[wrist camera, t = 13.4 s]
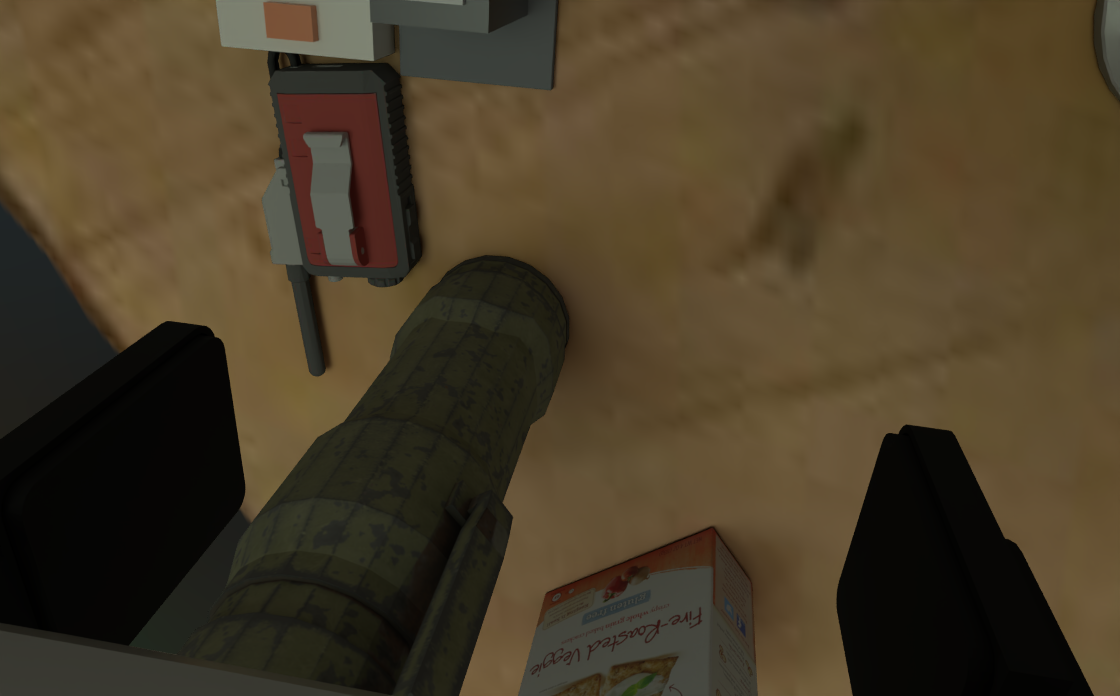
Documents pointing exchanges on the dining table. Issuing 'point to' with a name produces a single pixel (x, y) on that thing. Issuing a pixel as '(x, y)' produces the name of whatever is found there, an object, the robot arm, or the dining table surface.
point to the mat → (486, 51)
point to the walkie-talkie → (339, 181)
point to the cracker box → (650, 628)
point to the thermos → (401, 500)
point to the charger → (449, 13)
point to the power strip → (334, 30)
